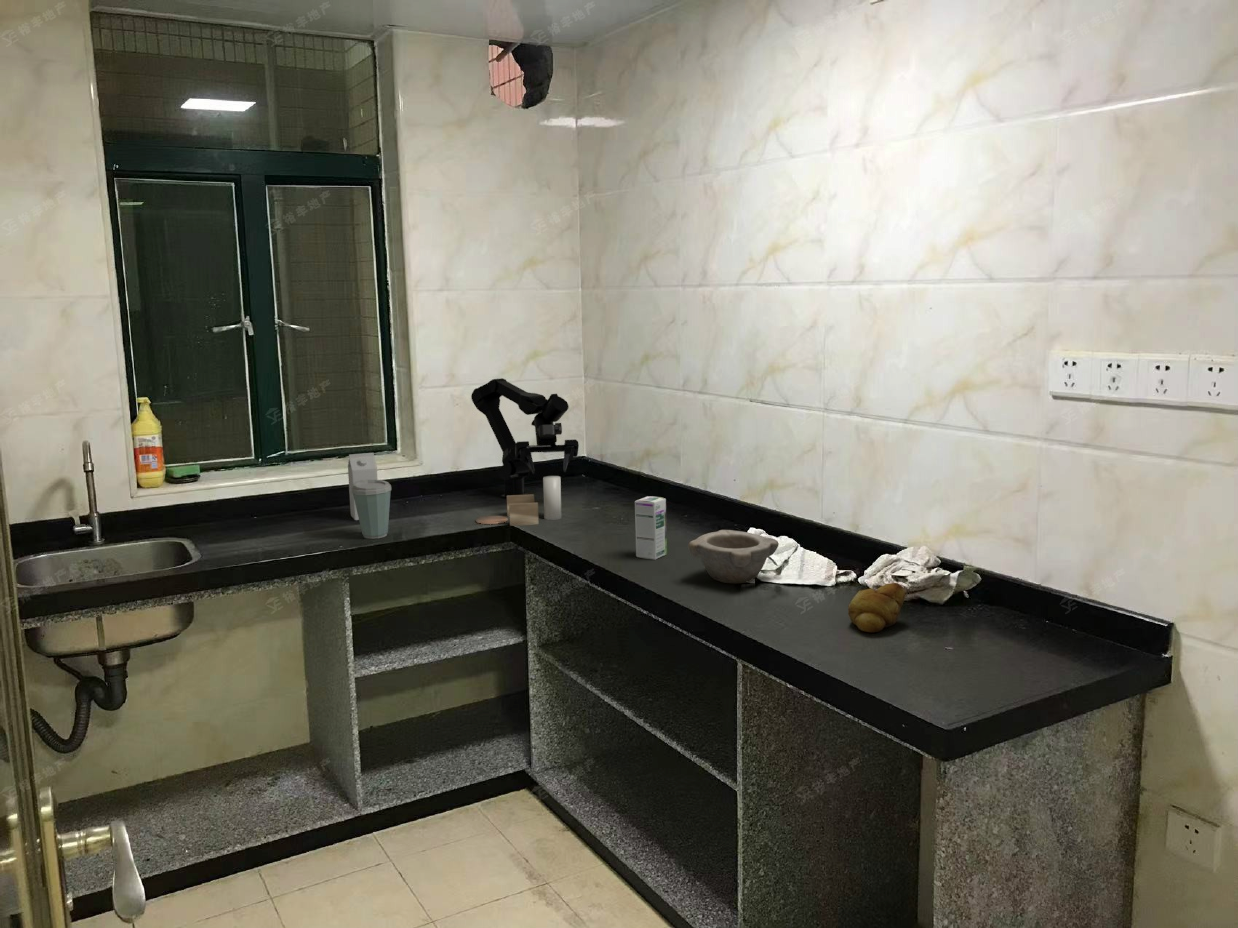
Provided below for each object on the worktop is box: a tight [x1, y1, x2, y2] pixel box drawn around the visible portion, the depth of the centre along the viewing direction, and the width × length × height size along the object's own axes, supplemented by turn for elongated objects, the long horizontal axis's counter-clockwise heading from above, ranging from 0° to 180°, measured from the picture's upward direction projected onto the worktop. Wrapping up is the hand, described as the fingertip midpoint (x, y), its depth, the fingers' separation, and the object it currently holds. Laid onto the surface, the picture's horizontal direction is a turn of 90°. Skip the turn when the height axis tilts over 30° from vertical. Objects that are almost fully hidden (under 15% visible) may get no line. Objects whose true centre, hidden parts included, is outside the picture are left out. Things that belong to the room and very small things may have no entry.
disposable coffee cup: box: [352, 478, 392, 540], centre depth 264 cm, size 11×11×15 cm
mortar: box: [687, 529, 779, 584], centre depth 222 cm, size 17×17×9 cm
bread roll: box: [847, 582, 906, 633], centre depth 190 cm, size 13×10×8 cm
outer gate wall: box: [509, 502, 539, 526], centre depth 277 cm, size 2×8×6 cm, turn 100°
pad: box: [475, 515, 509, 526], centre depth 281 cm, size 9×9×1 cm
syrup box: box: [634, 495, 668, 561], centre depth 241 cm, size 6×6×14 cm
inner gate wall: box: [506, 493, 536, 517], centre depth 288 cm, size 2×8×6 cm, turn 100°
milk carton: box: [347, 452, 379, 521], centre depth 287 cm, size 7×7×19 cm
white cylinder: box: [542, 475, 562, 521], centre depth 283 cm, size 5×5×12 cm
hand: (549, 472), depth 289 cm, fingers open, 9 cm apart
